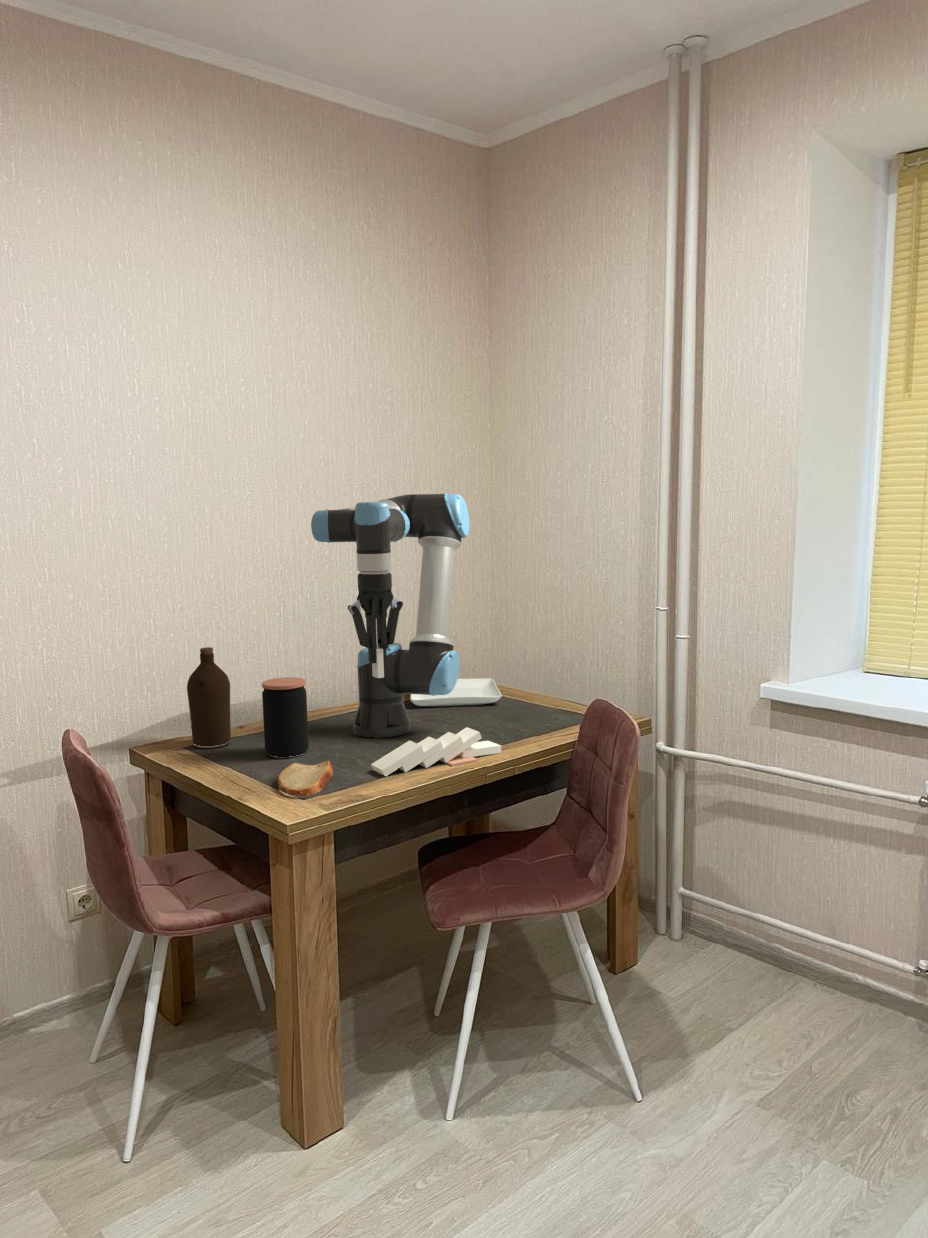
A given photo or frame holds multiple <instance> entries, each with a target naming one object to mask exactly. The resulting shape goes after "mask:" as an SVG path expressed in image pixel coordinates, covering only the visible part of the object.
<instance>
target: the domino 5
mask: <svg viewBox="0 0 928 1238" xmlns="http://www.w3.org/2000/svg"><path fill="white" fill-rule="evenodd" d="M501 753H502V745H501V744H499V743H497V742H496V743H495V742H493V741H490V740H484V741H483V740H482V741H477V742H476V743H474V744H473V745H471V746H470V747H468V748H467V749H466V750H464V751H463V752H461V753H460V754H458V755H457V756H459V757H462V758H467V757H474V758H475V757H479V756H480V757H481V756H489V755H496V754H501Z"/></svg>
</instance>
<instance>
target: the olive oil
mask: <svg viewBox="0 0 928 1238" xmlns="http://www.w3.org/2000/svg"><path fill="white" fill-rule="evenodd" d="M213 648H214V647H211V646H210V647H201V648H200V649H199V652H200V654H199V661H200V662H199V664H198V666H197V667H196V668H195V670H194V671H193V672H192V673H191V674H190V675H189V677H188V680H187V682H186V683H187V685H186V691H187V692H186V693H187V700H188V707H189V718H190V726H191V727H190V728H191V738H192V744H193V743H194V744H196V745H200V746H215V745H221V744H225V743H227V742H229V741H230V740H231V738H232V737H231V736H232V735H231V733H232V732H231V731H232V730H231V683H230V680H229V679H230V678H229V676H228V674H227V673H226V672H225V671H223V670H222V668H220V667H219V666H218V664H216V662H215V656H214V655H215V653H214V649H213ZM231 741H232V740H231Z"/></svg>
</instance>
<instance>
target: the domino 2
mask: <svg viewBox="0 0 928 1238" xmlns="http://www.w3.org/2000/svg"><path fill="white" fill-rule="evenodd" d="M417 744H419V745H421V746H422V748H423V750H424V753H422V754H421V755H419V756H417V757H416V758H414V759H413V760H411V761H410V762H408V763H406V764H405V765H403V766H402V767H400V768H399V769H400V770H399V769H398V770H399V771H401V770H402V771H401V772H403V771H404V773H407V772H408V771H410V770H412V769H413V768H415V767H416V766H418V765H419V764H420V763H421V762H423V761H424V760H426V759H427V758H429V757H430V756H432V755H434V754H435V753H437V752H438V751H440V750H441V749H443V745H442V743H441V741H438V740H437V738H434V737H431V736H427V737H426V738H424V739H423V740H420V742H417Z"/></svg>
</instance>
